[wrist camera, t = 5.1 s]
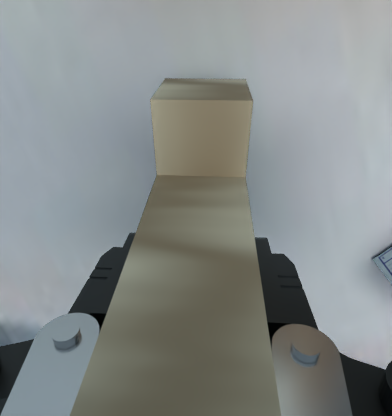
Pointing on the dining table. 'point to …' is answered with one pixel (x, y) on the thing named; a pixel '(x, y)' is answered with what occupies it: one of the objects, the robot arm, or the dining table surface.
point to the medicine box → (385, 263)
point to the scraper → (189, 274)
